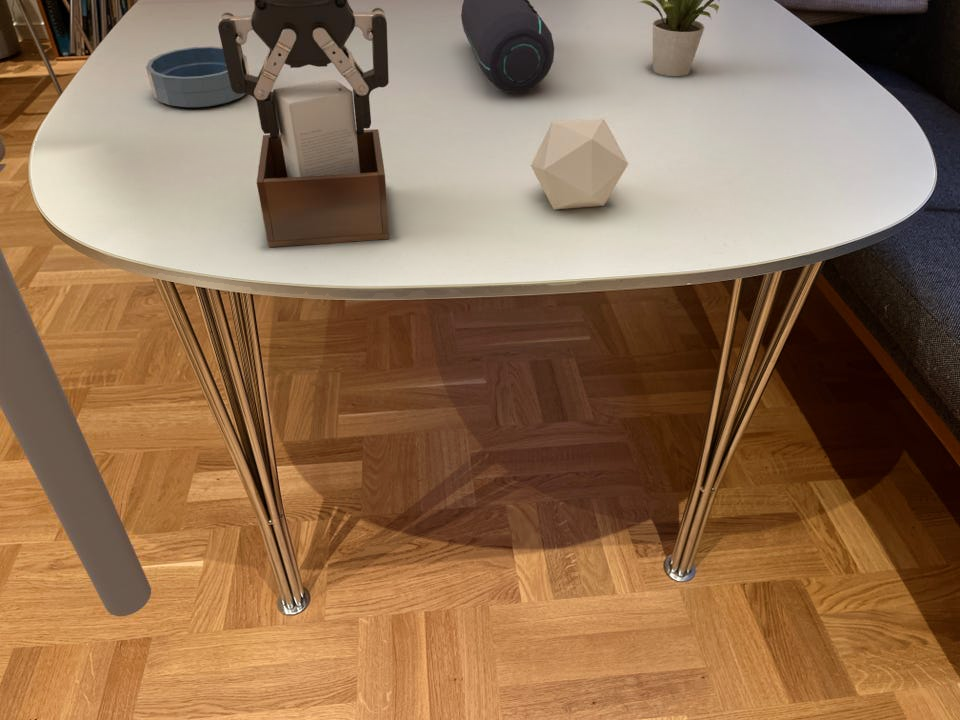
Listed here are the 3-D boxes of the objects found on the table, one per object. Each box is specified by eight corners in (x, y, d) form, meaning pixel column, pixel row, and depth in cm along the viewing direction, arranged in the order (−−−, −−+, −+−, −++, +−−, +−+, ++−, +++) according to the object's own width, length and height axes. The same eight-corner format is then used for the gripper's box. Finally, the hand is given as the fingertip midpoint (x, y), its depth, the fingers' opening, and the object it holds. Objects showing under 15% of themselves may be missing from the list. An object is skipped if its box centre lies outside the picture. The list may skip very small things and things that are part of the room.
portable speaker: (558, 100, 101) (564, 20, 94) (482, 103, 99) (484, 22, 93) (520, 40, 120) (524, -30, 113) (457, 43, 118) (457, -28, 112)
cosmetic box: (346, 194, 78) (334, 76, 71) (364, 212, 75) (354, 90, 68) (290, 209, 76) (271, 87, 68) (306, 228, 73) (289, 103, 65)
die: (606, 185, 83) (558, 105, 80) (658, 176, 75) (607, 87, 72) (552, 232, 81) (500, 153, 78) (599, 229, 73) (544, 140, 70)
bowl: (147, 112, 96) (138, 80, 93) (162, 78, 105) (155, 48, 102) (247, 107, 97) (242, 75, 95) (254, 74, 107) (248, 44, 104)
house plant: (749, 73, 110) (779, -55, 99) (696, 97, 102) (722, -39, 92) (666, 49, 117) (686, -72, 107) (610, 70, 110) (626, -58, 99)
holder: (268, 247, 71) (256, 182, 67) (273, 196, 79) (262, 134, 75) (389, 239, 73) (385, 174, 68) (382, 189, 80) (378, 129, 76)
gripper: (381, -79, 64) (393, 114, 74) (203, -77, 62) (240, 122, 72) (388, -60, 58) (399, 147, 68) (191, -57, 56) (234, 156, 67)
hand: (317, 133), depth 70 cm, fingers closed on cosmetic box, 7 cm apart
